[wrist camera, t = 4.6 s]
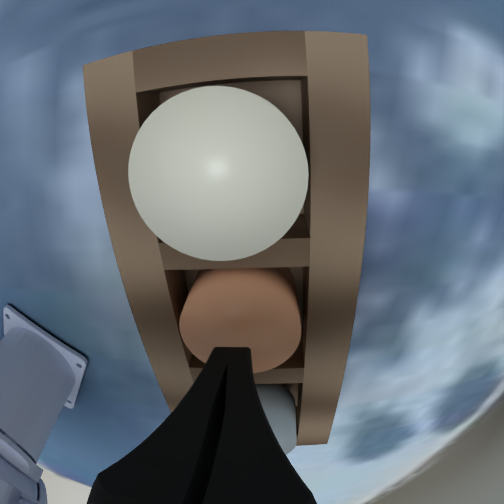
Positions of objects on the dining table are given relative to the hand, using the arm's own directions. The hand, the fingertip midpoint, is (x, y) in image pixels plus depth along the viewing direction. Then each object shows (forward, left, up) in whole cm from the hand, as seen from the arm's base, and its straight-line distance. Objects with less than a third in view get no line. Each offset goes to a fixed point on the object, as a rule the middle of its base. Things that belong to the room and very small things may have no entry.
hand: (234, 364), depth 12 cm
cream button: (+6, +4, -3) cm, 8 cm away
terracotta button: (0, 0, -5) cm, 5 cm away
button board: (0, 0, -5) cm, 5 cm away
